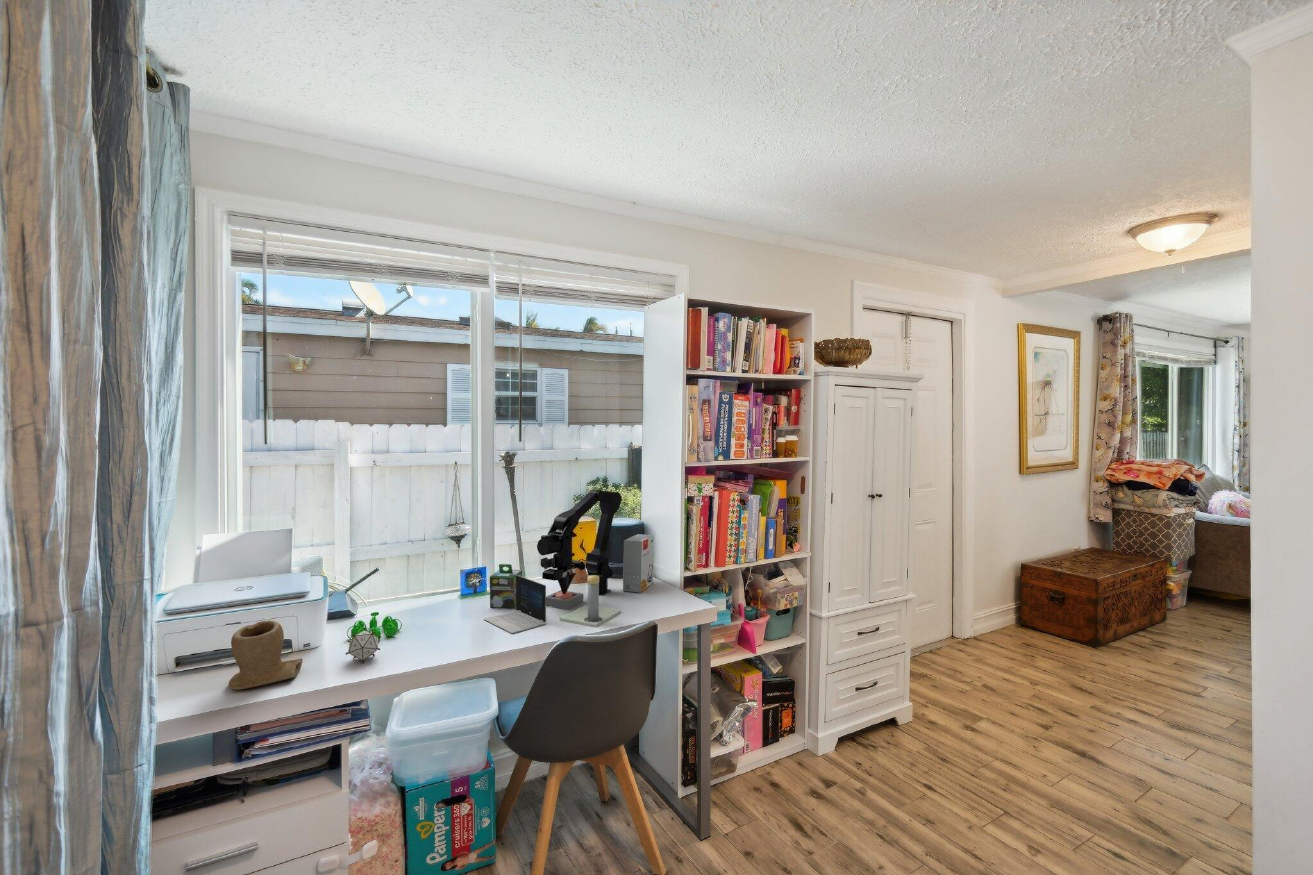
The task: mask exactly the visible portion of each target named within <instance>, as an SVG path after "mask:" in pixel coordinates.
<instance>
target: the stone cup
mask: <svg viewBox="0 0 1313 875" xmlns="http://www.w3.org/2000/svg"><path fill="white" fill-rule="evenodd" d="M284 640H285V635H284V630H283V627H282V624H280V623H279V622H278V621H276V620H261V621H258V622H256V623H254V624H249V625H245V626H243V627H240V628H239V629H238V630H237V631H235V632H234V634H233V635H232V637H231V640H230V641H231V642H230V644H231V652H232V656H233V658H234V660H235V662H236V664H237V667H238V668H239V672H237V673H235V674H234V675H233V676H232V677H231V678H230V680H228V687H229V688H230V689H231V690H236V691H240V690H244V689H250V688H251V689H252V688H257V687H260V686H264V685H269V684H273V683H278V682H282V681H286V680H289V679H293V678H295V677H297V676H298V674H299V672H300V671H301V668H302V664H303V658H302V657H301V658H295V659H291V660H285V661H282V659H281V658H282V657H281V656H282V651H283V646H284Z"/></svg>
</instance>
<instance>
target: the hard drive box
mask: <svg viewBox="0 0 1313 875" xmlns="http://www.w3.org/2000/svg"><path fill="white" fill-rule="evenodd" d="M654 547H655V535H653V534H640V533H639V534H638V533H637V534H636V535H635V534H634V535H633V536H630V537H628V538H627V539H624V540H623V561H622V562H623V565H622V566H623V567H622V569H623V570H622V571H623V572H622V591H624V592H630V593H631V592H632V593H642V592H643V591H645V590H646V589H648V586H649V587H651V585H653V584H652V583H654V561H655V560H654V556H655V555H654V554H655V548H654Z"/></svg>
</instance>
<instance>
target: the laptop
mask: <svg viewBox="0 0 1313 875" xmlns="http://www.w3.org/2000/svg"><path fill="white" fill-rule="evenodd" d="M546 596H547V585H546V584H544V583H540V582H538V581H535V580H533V579H529V578H527V577H523V576H522V577H521V576H518V575H516V607H515V609H516V610H512V611H511V610H510V611H506V612H504V613H500V614H497V615H492V616H488V617H484V618H483V620H484V621H486V622H488V623H491V624H492V625H495V626H496V627H498V628H500V629H501V630H504V631H506V632H507V633H510V634H516V633H520V632H523V631H527V630H528V631H529V630H531V629H535V628H539V627H544V626H545V625H546V624H547V606H546Z"/></svg>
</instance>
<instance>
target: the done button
mask: <svg viewBox="0 0 1313 875" xmlns="http://www.w3.org/2000/svg"><path fill="white" fill-rule="evenodd" d="M559 591H560V590H559ZM556 592H557V593H556V598H561V599H568V598H571V597H572V595H573V593H572V592H573V591H569V590H567V592H566V594H563V593H562V591H560V592H558V591H556Z"/></svg>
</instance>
